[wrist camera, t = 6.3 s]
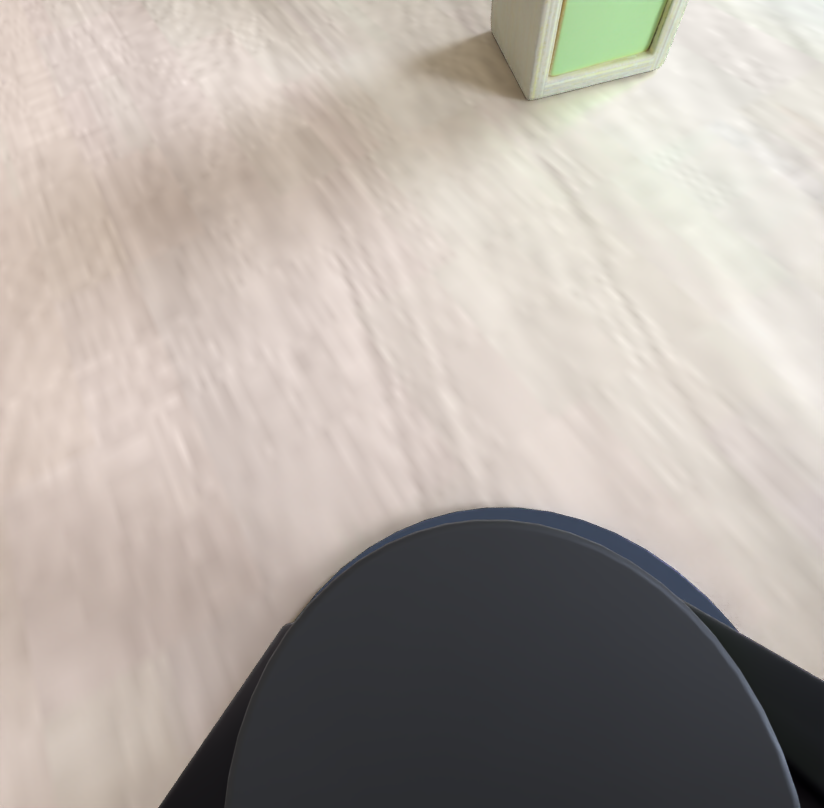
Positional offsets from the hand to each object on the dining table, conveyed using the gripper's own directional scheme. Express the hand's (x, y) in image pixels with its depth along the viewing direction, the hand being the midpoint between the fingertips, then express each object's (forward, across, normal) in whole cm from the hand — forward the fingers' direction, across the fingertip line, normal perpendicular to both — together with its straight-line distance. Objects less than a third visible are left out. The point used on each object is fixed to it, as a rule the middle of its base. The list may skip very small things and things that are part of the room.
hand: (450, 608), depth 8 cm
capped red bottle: (+4, 0, +6) cm, 7 cm away
